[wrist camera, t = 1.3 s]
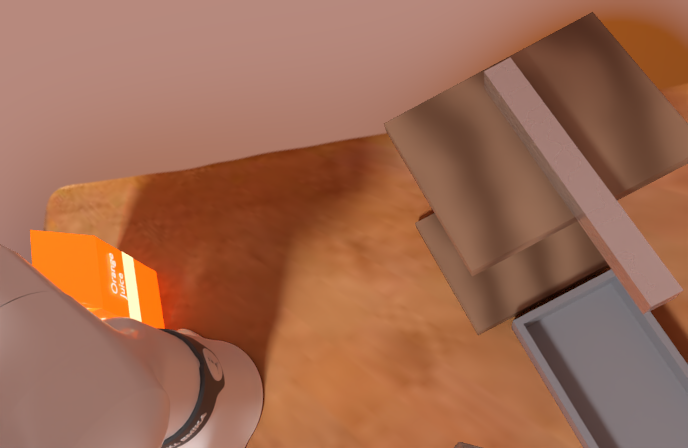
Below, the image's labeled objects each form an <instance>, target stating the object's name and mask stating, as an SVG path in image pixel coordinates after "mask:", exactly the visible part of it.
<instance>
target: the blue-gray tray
mask: <svg viewBox="0 0 688 448" xmlns="http://www.w3.org/2000/svg"><path fill="white" fill-rule="evenodd" d="M512 329H513V331H514V332H515V334H516V336H517V337H518V339H519V341H520V342H521V344H522V346H523V347H524V349H525V351H526V352H527V354H528V356H529V358H530V359H531V361H532V363H533V364H534V366H535V368H536V369H537V371H538V373H539V374H540V376H541V378H542V379H543V381H544V383H545V384H546V386H547V388H548V389H549V391H550V393H551V394H552V396H553V398H554V399H555V401H556V403H557V404H558V406H559V408H560V409H561V411H562V413H563V414H564V416H565V418H566V419H567V421H568V423H569V424H570V426H571V428H572V429H573V431H574V433H575V434H576V436H577V438H578V439H579V441H580V443H581V444H582V446H583V448H688V364H687V363H686V361H685V360H684V359H683V357H682V356H681V354H680V353H679V351H678V350H677V349H676V347H675V346H674V344H673V343H672V342H671V340H670V339H669V337H668V336H667V334H666V333H665V332H664V330H663V329H662V327H661V326H660V325H659V323H658V322H657V320H656V319H655V317H654V316H653V315H652V313H651V312H648V313H646V314H644V315H643V313H642V312H641V311H640V309H639V308H638V306H637V305H636V303H635V302H634V301H633V299H632V298H631V296H630V295H629V293H628V292H627V291H626V289H625V288H624V286H623V285H622V283H621V282H620V281H619V279H618V278H617V276H616V275H615V274H614V272H613V271H612V269H611V270H609V271H607V272H605V273H603V274H601V275H600V276H598V277H596V278H594V279H592V280H590V281H588V282H586V283H584V284H582V285H580V286H578V287H577V288H575V289H573V290H571V291H569V292H567V293H565V294H563V295H561V296H559V297H557V298H556V299H554V300H552V301H550V302H548V303H546V304H544V305H542V306H540V307H538V308H536V309H534V310H533V311H531V312H529V313H527V314H525V315H523V316H521V317H519V318H517V319H515V320H513V323H512Z"/></svg>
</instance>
